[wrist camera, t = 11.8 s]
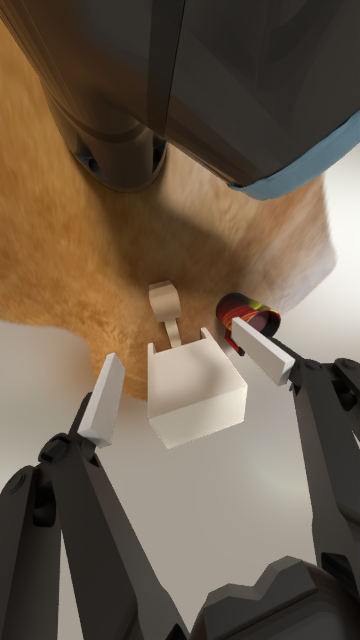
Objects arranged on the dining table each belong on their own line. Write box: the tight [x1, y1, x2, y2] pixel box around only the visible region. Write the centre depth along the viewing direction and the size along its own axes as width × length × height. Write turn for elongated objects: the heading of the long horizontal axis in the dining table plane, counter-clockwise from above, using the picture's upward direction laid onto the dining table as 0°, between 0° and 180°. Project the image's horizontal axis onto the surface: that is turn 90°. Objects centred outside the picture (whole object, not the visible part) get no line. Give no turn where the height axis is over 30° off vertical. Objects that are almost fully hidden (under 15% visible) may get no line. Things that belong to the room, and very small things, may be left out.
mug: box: [216, 293, 281, 356], centre depth 35 cm, size 10×14×12 cm
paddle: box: [149, 280, 182, 348], centre depth 33 cm, size 25×5×10 cm, turn 11°
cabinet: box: [148, 328, 248, 449], centre depth 35 cm, size 15×18×20 cm
